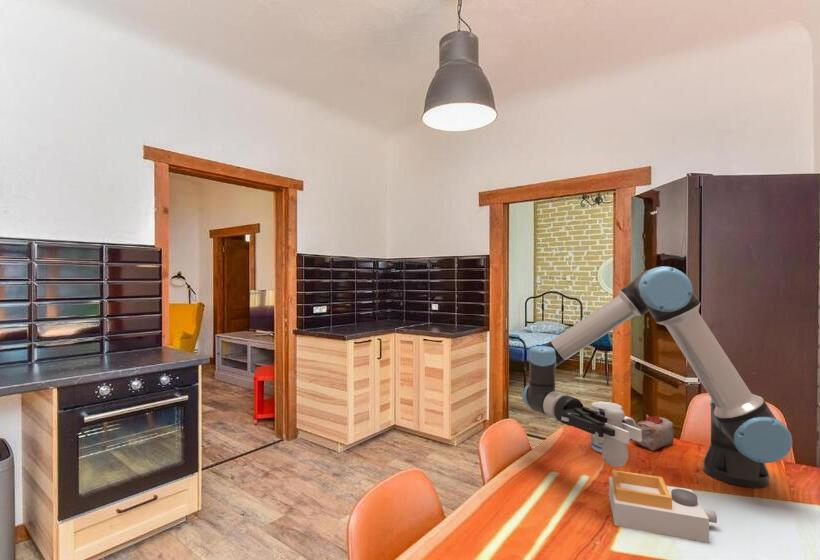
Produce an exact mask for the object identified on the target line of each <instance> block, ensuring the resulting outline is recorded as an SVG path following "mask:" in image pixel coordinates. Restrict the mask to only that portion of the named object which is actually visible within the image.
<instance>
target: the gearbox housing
mask: <svg viewBox="0 0 820 560" xmlns="http://www.w3.org/2000/svg"><path fill="white" fill-rule="evenodd" d="M608 499H609V502H610V503H609V504H610V509H611V514H612V518H613V523H614V526H617V527H622V528H626V529H627V528H628V529H632V530H638V531H643V532H648V533H655V534H661V535H665V536H670V537H674V538H675V537H676V538H680V539H681V538H682V539H685V540H686V539H687V540H693V541H698V542H703V543H708V544H709V543H710V523H713V524H717V523H718V518H717V512H716V511H715V510H710V509H704V508H703V506H702V505H701V503H700V502H699V500H698V496H697V495H696V493H694V491H693V490H692V489H690V488H685V487H677V486H673V485H671V486H670V485H666V482H665V480H664V478H663V477H662V476H657V475H650V474H643V473H636V472H630V471H622V470H616V469H611V476H609V477H608Z"/></svg>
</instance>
